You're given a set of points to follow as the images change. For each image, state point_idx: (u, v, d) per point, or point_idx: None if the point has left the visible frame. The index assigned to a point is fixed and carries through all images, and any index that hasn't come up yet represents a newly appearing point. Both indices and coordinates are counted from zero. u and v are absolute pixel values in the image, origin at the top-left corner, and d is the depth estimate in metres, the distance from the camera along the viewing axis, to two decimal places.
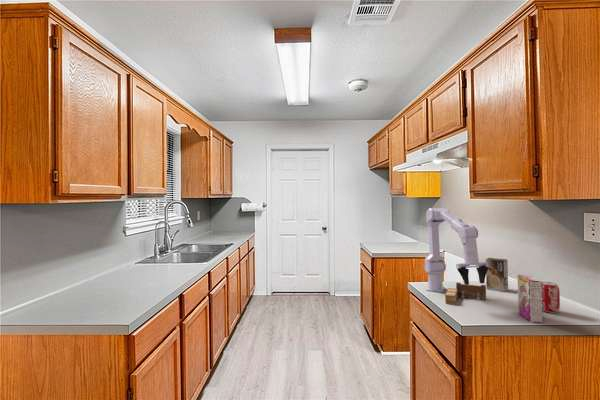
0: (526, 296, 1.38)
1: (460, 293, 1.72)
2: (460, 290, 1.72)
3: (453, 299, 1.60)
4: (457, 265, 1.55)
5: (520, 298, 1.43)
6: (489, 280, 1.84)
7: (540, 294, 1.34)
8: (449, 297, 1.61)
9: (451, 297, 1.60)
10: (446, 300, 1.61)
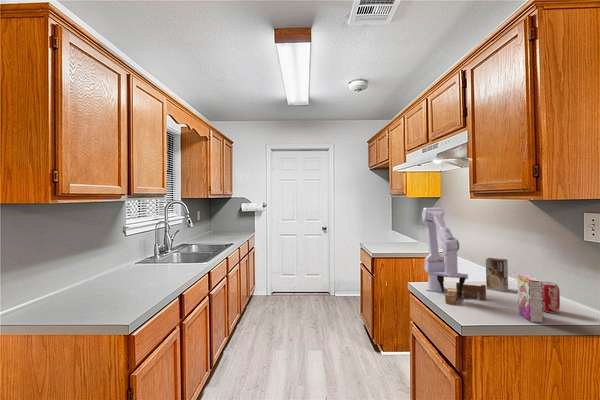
0: (526, 296, 1.38)
1: None
2: None
3: (453, 299, 1.60)
4: (435, 273, 1.70)
5: (520, 298, 1.43)
6: (489, 280, 1.84)
7: (540, 294, 1.34)
8: (449, 297, 1.61)
9: (451, 297, 1.60)
10: (446, 300, 1.61)
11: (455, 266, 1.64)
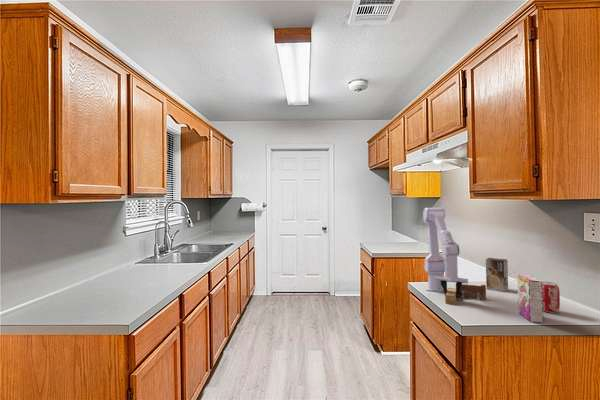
0: (526, 296, 1.38)
1: (460, 293, 1.72)
2: (460, 290, 1.72)
3: (453, 299, 1.60)
4: (435, 278, 1.70)
5: (520, 298, 1.43)
6: (489, 280, 1.84)
7: (540, 294, 1.34)
8: (449, 297, 1.61)
9: (451, 297, 1.60)
10: (446, 300, 1.61)
11: (455, 271, 1.64)
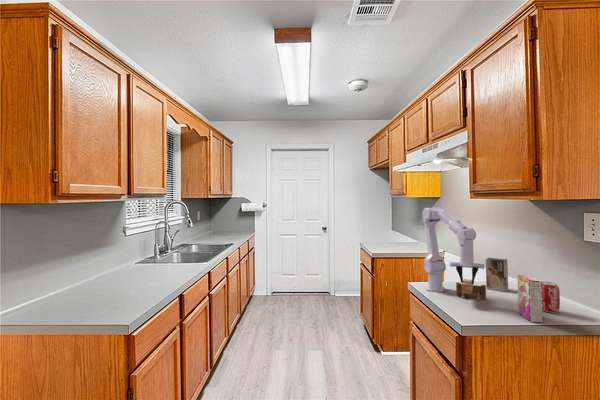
0: (526, 296, 1.38)
1: (460, 293, 1.72)
2: (460, 290, 1.72)
3: (470, 288, 1.56)
4: (450, 263, 1.67)
5: (520, 298, 1.43)
6: (489, 280, 1.84)
7: (540, 294, 1.34)
8: (466, 286, 1.57)
9: (467, 286, 1.57)
10: (462, 289, 1.58)
11: (471, 256, 1.61)
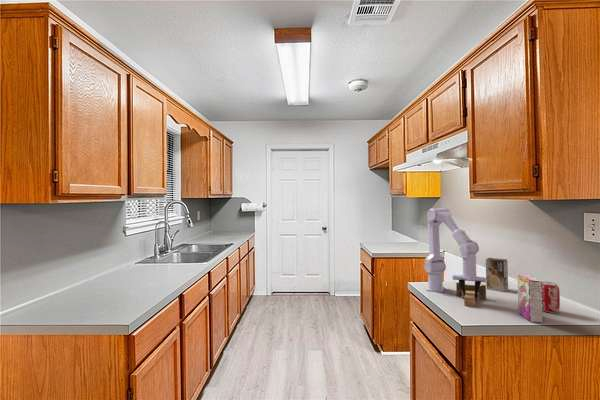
0: (526, 296, 1.38)
1: (460, 293, 1.72)
2: (460, 290, 1.72)
3: (472, 301, 1.56)
4: None
5: (520, 298, 1.43)
6: (489, 280, 1.84)
7: (540, 294, 1.34)
8: (469, 300, 1.56)
9: (470, 299, 1.56)
10: (465, 302, 1.57)
11: (474, 269, 1.60)
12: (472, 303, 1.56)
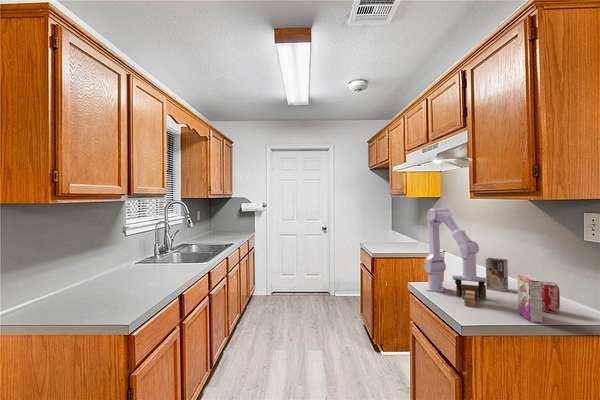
0: (526, 296, 1.38)
1: None
2: None
3: (472, 301, 1.56)
4: None
5: (520, 298, 1.43)
6: (489, 280, 1.84)
7: (540, 294, 1.34)
8: (469, 300, 1.56)
9: (470, 299, 1.56)
10: (465, 302, 1.57)
11: (474, 270, 1.60)
12: (472, 303, 1.56)
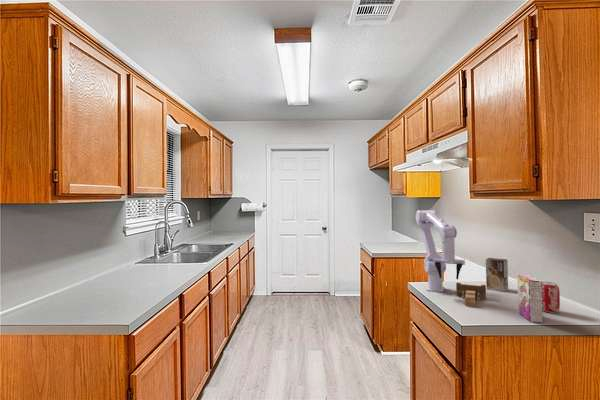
0: (526, 296, 1.38)
1: (460, 293, 1.72)
2: (460, 290, 1.72)
3: (473, 301, 1.56)
4: (432, 260, 1.75)
5: (520, 298, 1.43)
6: (489, 280, 1.84)
7: (540, 294, 1.34)
8: (469, 300, 1.56)
9: (471, 299, 1.56)
10: (466, 302, 1.57)
11: (452, 252, 1.69)
12: (473, 303, 1.56)
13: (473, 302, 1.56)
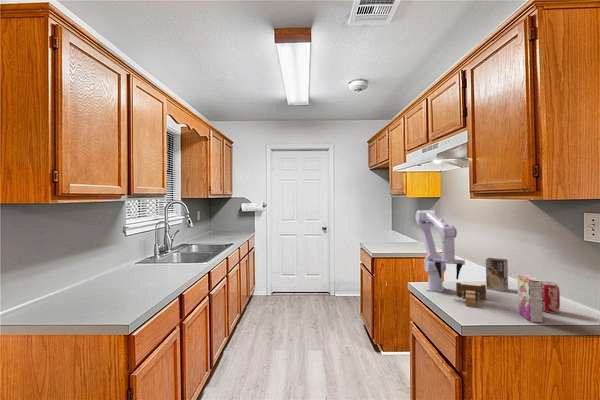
0: (526, 296, 1.38)
1: (460, 293, 1.72)
2: (460, 290, 1.72)
3: (474, 301, 1.56)
4: (432, 260, 1.75)
5: (520, 298, 1.43)
6: (489, 280, 1.84)
7: (540, 294, 1.34)
8: (470, 300, 1.56)
9: (471, 299, 1.56)
10: (466, 302, 1.57)
11: (452, 252, 1.69)
12: (473, 303, 1.56)
13: (473, 302, 1.56)
